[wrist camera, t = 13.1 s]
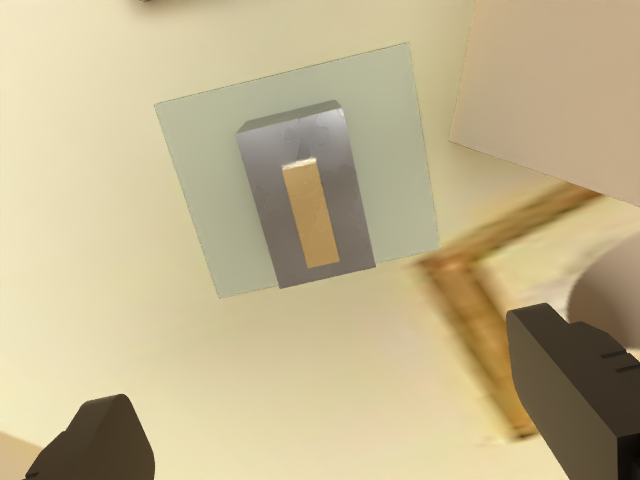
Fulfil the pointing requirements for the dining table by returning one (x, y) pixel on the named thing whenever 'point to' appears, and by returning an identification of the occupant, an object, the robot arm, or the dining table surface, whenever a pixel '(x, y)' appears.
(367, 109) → the mat
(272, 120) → the lever cap
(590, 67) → the milk
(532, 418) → the robot arm
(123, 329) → the dining table surface
